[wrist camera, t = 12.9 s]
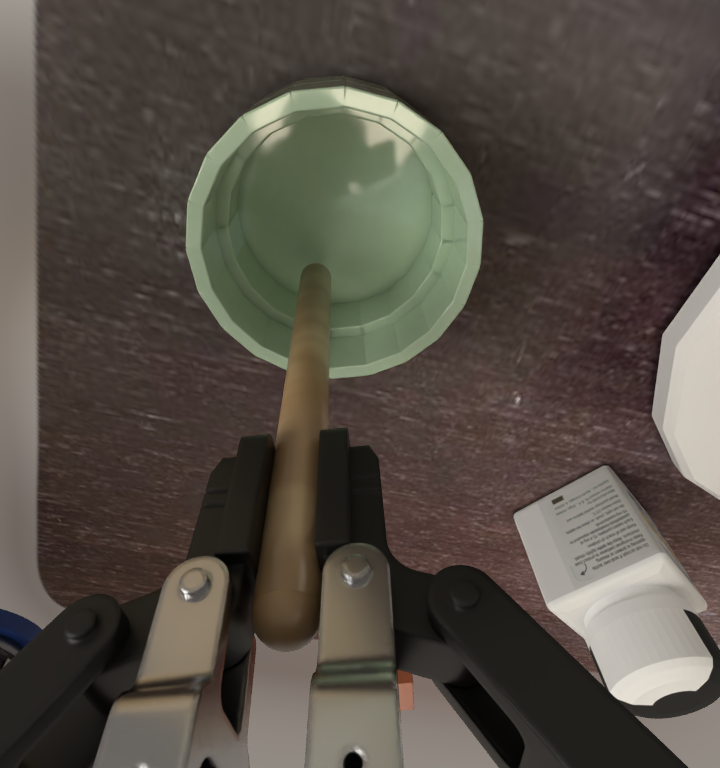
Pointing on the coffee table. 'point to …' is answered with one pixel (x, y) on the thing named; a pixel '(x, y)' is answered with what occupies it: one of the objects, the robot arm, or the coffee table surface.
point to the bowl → (335, 223)
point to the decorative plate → (692, 386)
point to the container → (623, 595)
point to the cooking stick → (296, 479)
